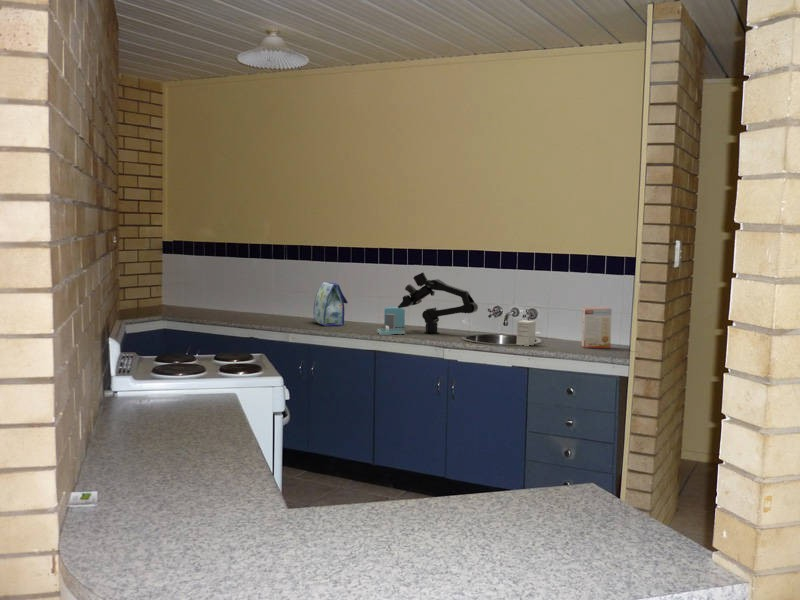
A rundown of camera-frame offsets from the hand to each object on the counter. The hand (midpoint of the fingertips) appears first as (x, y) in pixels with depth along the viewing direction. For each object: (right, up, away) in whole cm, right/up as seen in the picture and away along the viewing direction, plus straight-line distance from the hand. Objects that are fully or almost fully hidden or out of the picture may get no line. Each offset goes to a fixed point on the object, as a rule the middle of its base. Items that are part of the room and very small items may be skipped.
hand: (401, 306), depth 465 cm
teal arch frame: (-4, -13, +19) cm, 23 cm away
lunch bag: (-44, -11, +28) cm, 54 cm away
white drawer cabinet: (+66, -20, -46) cm, 82 cm away
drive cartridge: (-6, -14, 0) cm, 16 cm away
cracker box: (+101, -21, -51) cm, 115 cm away
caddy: (-6, -15, -12) cm, 20 cm away
